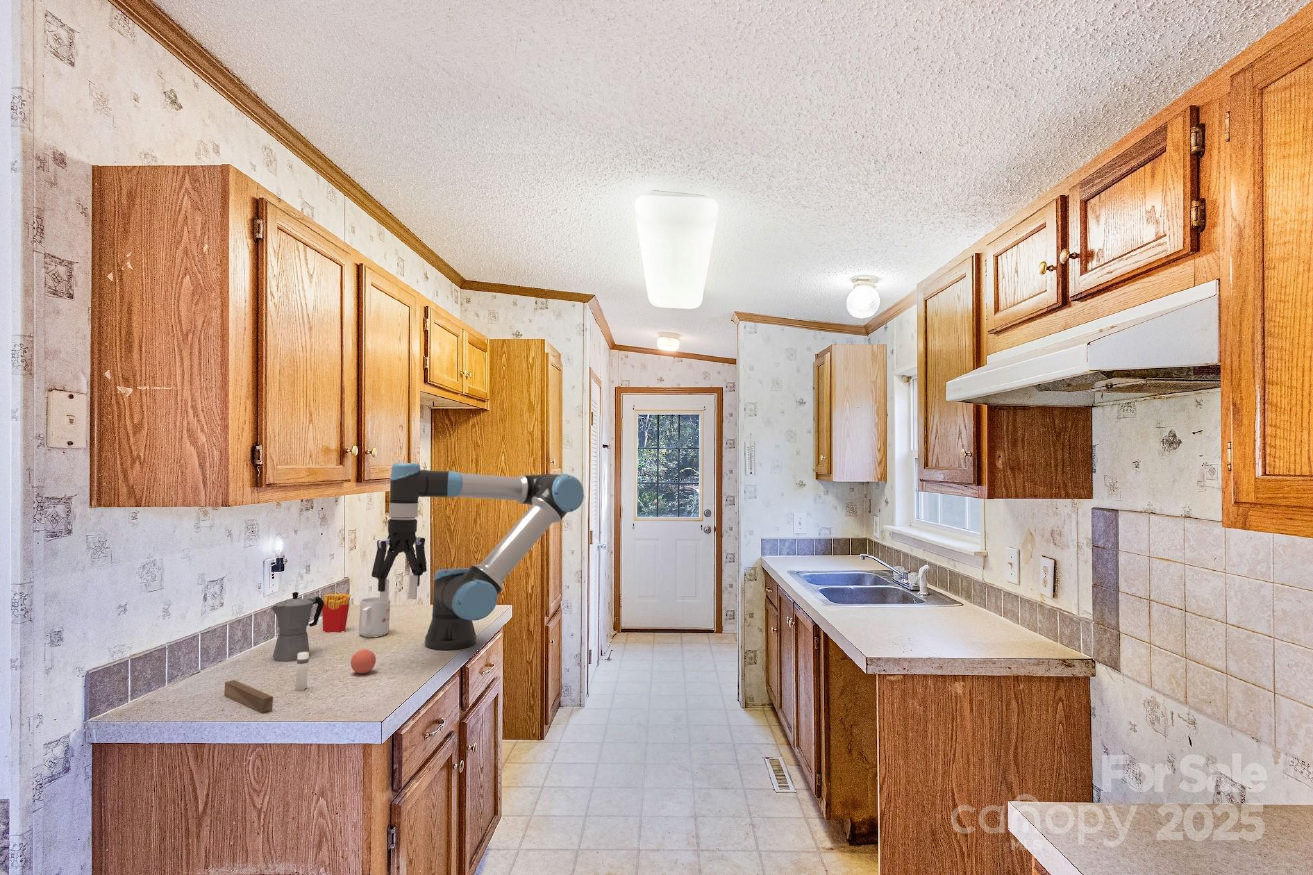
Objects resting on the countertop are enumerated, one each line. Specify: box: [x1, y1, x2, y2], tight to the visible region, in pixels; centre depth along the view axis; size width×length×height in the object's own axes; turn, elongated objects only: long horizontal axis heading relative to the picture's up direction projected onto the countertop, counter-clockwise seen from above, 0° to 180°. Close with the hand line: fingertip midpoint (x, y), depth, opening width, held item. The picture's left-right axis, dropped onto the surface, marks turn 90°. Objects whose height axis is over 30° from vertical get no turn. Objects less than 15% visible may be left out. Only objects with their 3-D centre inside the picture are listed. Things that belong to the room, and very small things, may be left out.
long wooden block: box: [223, 679, 274, 714], centre depth 146 cm, size 2×18×3 cm, turn 56°
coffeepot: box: [270, 591, 324, 662], centre depth 183 cm, size 15×9×18 cm, turn 151°
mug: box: [358, 596, 391, 638], centre depth 206 cm, size 12×9×11 cm
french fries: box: [321, 592, 351, 633], centre depth 211 cm, size 8×4×12 cm, turn 93°
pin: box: [295, 651, 310, 691], centre depth 156 cm, size 2×2×8 cm
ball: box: [350, 648, 377, 675], centre depth 169 cm, size 6×6×6 cm
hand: (398, 600), depth 178 cm, fingers open, 8 cm apart
